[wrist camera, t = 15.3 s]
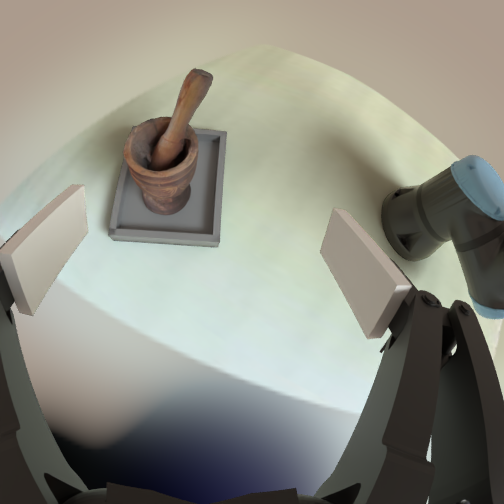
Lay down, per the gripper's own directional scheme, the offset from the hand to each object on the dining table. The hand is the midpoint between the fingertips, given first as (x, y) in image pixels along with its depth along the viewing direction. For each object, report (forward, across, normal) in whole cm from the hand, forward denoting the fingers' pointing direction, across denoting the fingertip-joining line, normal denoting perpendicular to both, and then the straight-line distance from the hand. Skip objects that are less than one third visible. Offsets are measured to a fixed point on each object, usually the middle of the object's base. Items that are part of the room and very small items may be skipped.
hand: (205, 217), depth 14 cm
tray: (+30, -6, -9) cm, 31 cm away
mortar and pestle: (+29, -6, -8) cm, 31 cm away
